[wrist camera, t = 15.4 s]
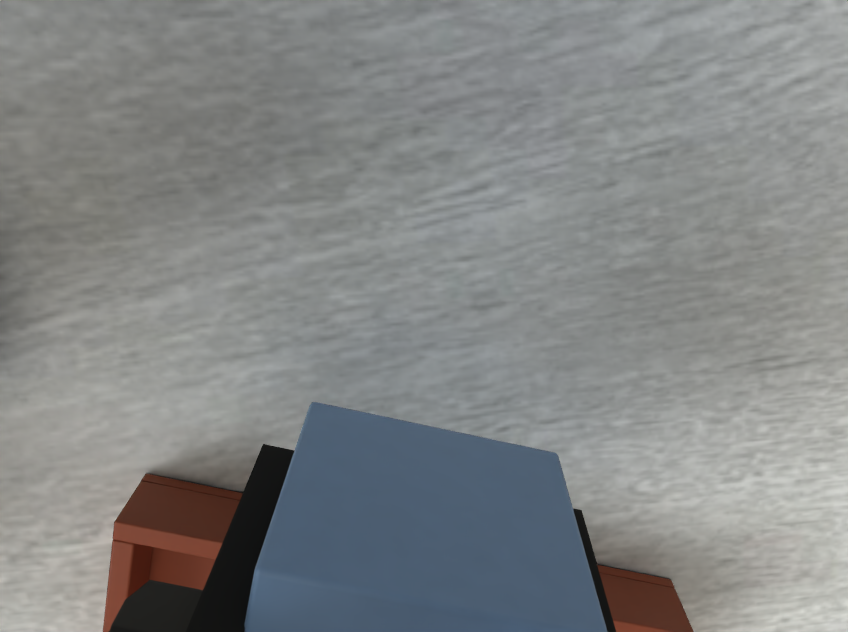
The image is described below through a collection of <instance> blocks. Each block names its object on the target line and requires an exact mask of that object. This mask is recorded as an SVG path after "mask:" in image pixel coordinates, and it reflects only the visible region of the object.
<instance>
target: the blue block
mask: <svg viewBox="0 0 848 632" xmlns="http://www.w3.org/2000/svg"><path fill="white" fill-rule="evenodd" d="M244 626H245V631H244V632H607V628H606V625H605V621H604V618H603V614H602V611H601V607H600V603H599V600H598V596H597V593H596V589H595V586H594V582H593V579H592V575H591V571H590V568H589V564H588V561H587V557H586V554H585V550H584V546H583V543H582V539H581V536H580V532H579V529H578V525H577V521H576V518H575V514H574V511H573V507H572V504H571V500H570V496H569V493H568V489H567V486H566V482H565V479H564V475H563V471H562V468H561V464H560V461H559V457H558V455H557V454H556V453H554V452H549V451H544V450H540V449H535V448H530V447H525V446H521V445H516V444H511V443H507V442H502V441H497V440H492V439H488V438H483V437H478V436H474V435H469V434H464V433H459V432H455V431H450V430H445V429H441V428H436V427H431V426H426V425H422V424H417V423H412V422H408V421H403V420H398V419H393V418H389V417H384V416H379V415H375V414H370V413H365V412H360V411H356V410H351V409H346V408H342V407H337V406H332V405H327V404H323V403H318V402H312V403H311V405H310V406H309V409H308V412H307V415H306V418H305V421H304V424H303V427H302V430H301V433H300V436H299V439H298V442H297V445H296V448H295V451H294V454H293V457H292V460H291V463H290V466H289V469H288V472H287V475H286V478H285V481H284V484H283V487H282V490H281V493H280V496H279V499H278V502H277V504H276V507H275V510H274V513H273V516H272V519H271V522H270V525H269V528H268V531H267V534H266V537H265V540H264V543H263V546H262V549H261V552H260V555H259V558H258V561H257V564H256V567H255V570H254V575H253V581H252V586H251V591H250V597H249V602H248V607H247V613H246V618H245V624H244Z"/></svg>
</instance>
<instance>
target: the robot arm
mask: <svg viewBox="0 0 848 632" xmlns="http://www.w3.org/2000/svg"><path fill="white" fill-rule="evenodd" d="M293 454H294V450H289V449H284V448H280V447H275V446H270V445H265V444H263V446H262V448H261V451H260V453H259V455H258V458H257V460H256V463H255V465H254V468H253V470H252V472H251V475H250V477H249V480H248V482H247V485H246V487H245V489H244V492H243V494H242V497H241V499H240V502H239V504H238V506H237V509H236V511H235V514H234V516H233V518H232V521H231V523H230V526H229V528H228V531H227V533H226V535H225V538H224V540H223V543H222V545H221V548H220V550H219V552H218V555H217V557H216V560H215V562H214V565H213V567H212V569H211V572H210V574H209V577H208V579H207V581H206V584H205V586H204V589H203V590H200V589H195V588H190V587H185V586H180V585H175V584H170V583H164V582H159V581H154V580H149V581H148V582H147V583H145V584H144V585H143V586H142V587H140V588H139V589H138V590H137V591H135V592H134V593H133V594H132V595H130V596H129V597H128V598H127V599H125V601H124V603H123V605H122V606H121V608H120V610H119V612H118V614H117V616H116V618H115V619H114V621H113V623H112V625H111V628H110V631H108V632H244V631H245V626H244V624H245V618H246V613H247V607H248V602H249V597H250V591H251V586H252V581H253V575H254V570H255V567H256V564H257V561H258V558H259V555H260V552H261V549H262V546H263V543H264V540H265V537H266V534H267V531H268V528H269V525H270V522H271V519H272V516H273V513H274V510H275V507H276V504H277V502H278V499H279V496H280V493H281V490H282V487H283V484H284V481H285V478H286V475H287V472H288V469H289V466H290V463H291V460H292V457H293ZM573 511H574V514H575V518H576V521H577V525H578V529H579V532H580V536H581V539H582V543H583V546H584V550H585V554H586V557H587V561H588V564H589V568H590V571H591V575H592V579H593V582H594V586H595V589H596V593H597V596H598V600H599V603H600V607H601V611H602V614H603V618H604V621H605V625H606V628H607V632H616V629H615V625H614V622H613V618H612V615H611V611H610V608H609V605H608V601H607V598H606V594H605V591H604V587H603V584H602V580H601V577H600V573H599V570H598V566H597V563H596V559H595V556H594V552H593V549H592V545H591V542H590V538H589V535H588V531H587V528H586V524H585V521H584V517H583V514H582V510H578V509H573Z"/></svg>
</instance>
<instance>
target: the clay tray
mask: <svg viewBox="0 0 848 632" xmlns="http://www.w3.org/2000/svg"><path fill="white" fill-rule="evenodd" d="M242 494H243V493H240V492H235V491H230V490H225V489H220V488H215V487H210V486H205V485H200V484H195V483H190V482H185V481H180V480H175V479H170V478H166V477H161V476H156V475H151V474H145V476H144V477H143V479H142V480H141V482H140V484H139V485H138V487H137V488H136V490H135V491H134V493H133V494H132V496H131V498H130V499H129V501H128V502H127V504H126V505H125V507H124V508H123V510H122V511H121V513H120V514H119V516H118V517H117V519H116V521H115V522H114V531H113V542H112V551H111V561H110V570H109V579H108V589H107V598H106V607H105V617H104V626H103V632H108V631H110V628H111V625H112V623H113V621H114V619H115V618H116V616H117V614H118V612H119V610H120V608H121V606H122V605H123V603H124V601H125V599H127V598H128V597H129V596H130V595H132V594H133V593H134V592H135V591H137V590H138V589H139V588H140V587H142V586H143V585H144V584H145V583H147V582H148V581H149V580H154V581H159V582H164V583H170V584H175V585H180V586H185V587H190V588H195V589H200V590H203V589H204V586H205V584H206V581H207V579H208V577H209V574H210V572H211V569H212V567H213V565H214V562H215V560H216V557H217V555H218V552H219V550H220V548H221V545H222V543H223V540H224V538H225V535H226V533H227V531H228V528H229V526H230V523H231V521H232V518H233V516H234V514H235V511H236V509H237V506H238V504H239V502H240V499H241V497H242ZM597 566H598V570H599V573H600V577H601V580H602V584H603V587H604V591H605V594H606V598H607V601H608V605H609V608H610V611H611V615H612V618H613V622H614V625H615V629H616V632H693V629H692V627H691V625H690V623H689V620H688V618H687V616H686V613H685V611H684V609H683V606H682V604H681V602H680V599H679V597H678V595H677V592H676V590H675V589H674V585H673V583H672V581H671V580H670V579H666V578H661V577H656V576H651V575H646V574H641V573H636V572H631V571H626V570H621V569H616V568H611V567H607V566H602V565H597Z"/></svg>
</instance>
